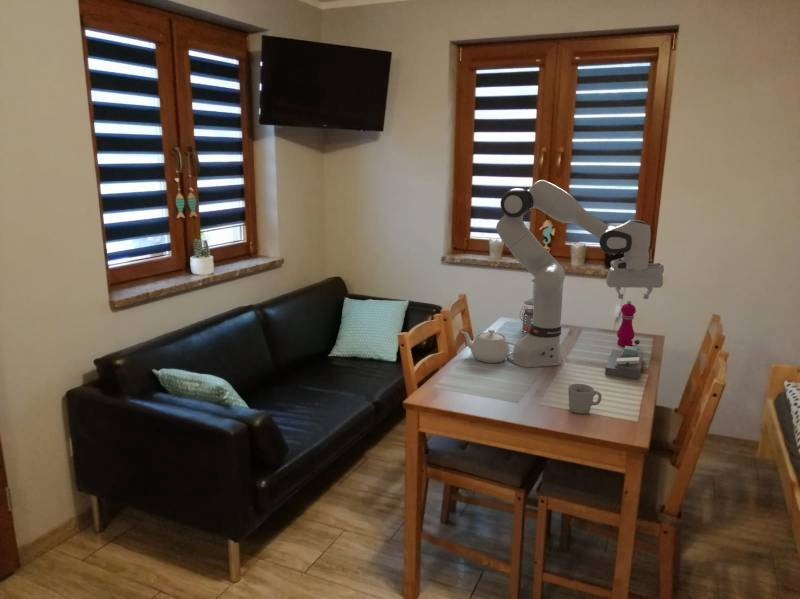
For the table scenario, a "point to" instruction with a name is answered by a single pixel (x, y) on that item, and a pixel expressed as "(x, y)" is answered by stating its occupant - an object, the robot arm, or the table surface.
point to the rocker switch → (628, 360)
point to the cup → (582, 398)
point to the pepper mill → (626, 325)
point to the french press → (528, 312)
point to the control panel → (623, 366)
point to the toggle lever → (636, 343)
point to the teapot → (490, 347)
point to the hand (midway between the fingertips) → (633, 298)
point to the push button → (630, 350)
